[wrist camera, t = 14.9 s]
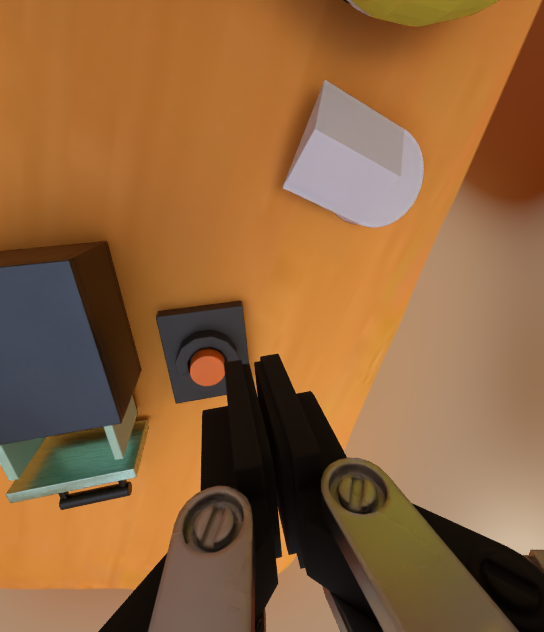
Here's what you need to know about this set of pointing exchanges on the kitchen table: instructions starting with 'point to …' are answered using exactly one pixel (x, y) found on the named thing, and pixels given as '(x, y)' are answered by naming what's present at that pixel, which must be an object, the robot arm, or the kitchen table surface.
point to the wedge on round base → (356, 162)
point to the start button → (207, 367)
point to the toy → (419, 10)
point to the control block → (201, 344)
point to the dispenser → (62, 342)
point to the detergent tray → (77, 463)
